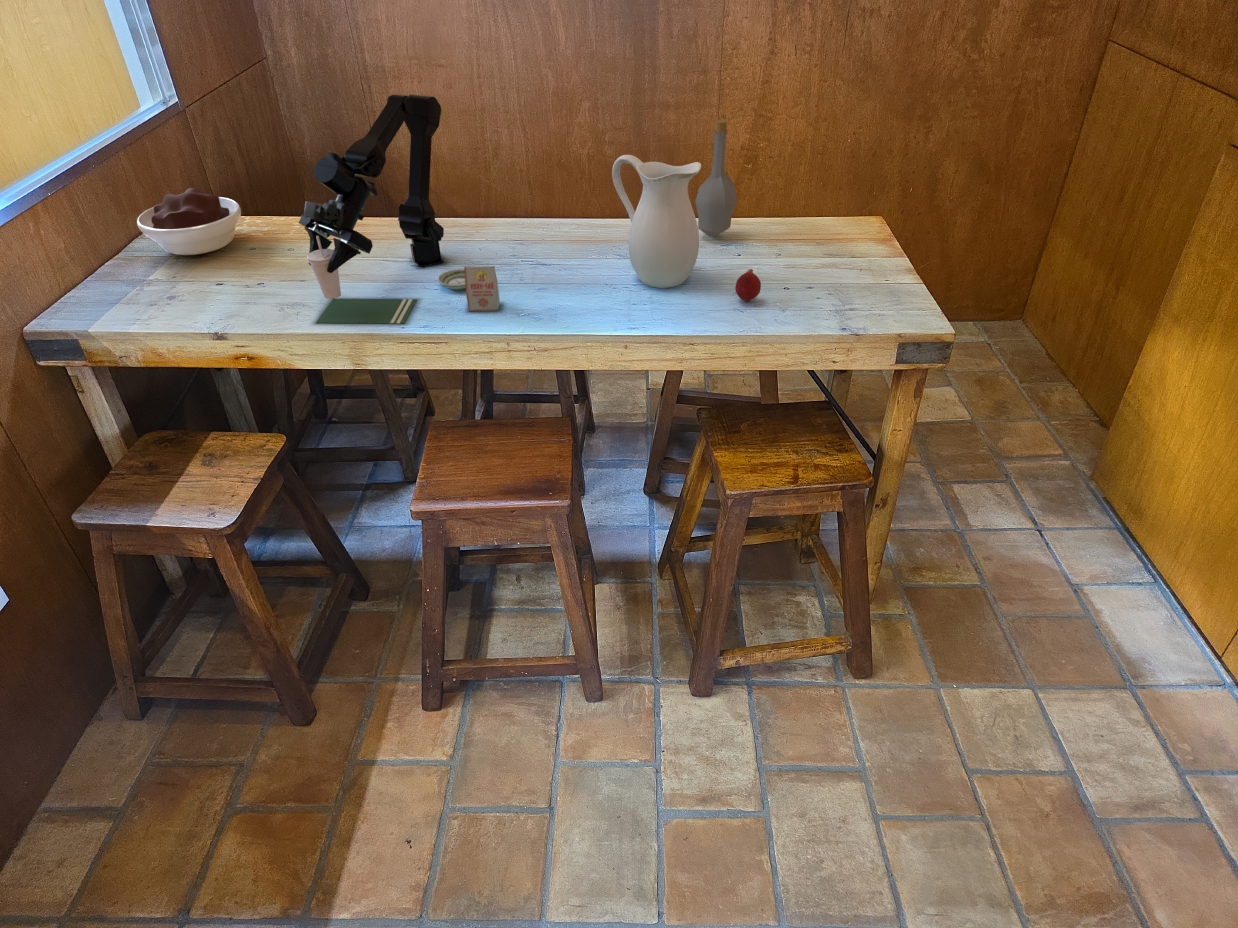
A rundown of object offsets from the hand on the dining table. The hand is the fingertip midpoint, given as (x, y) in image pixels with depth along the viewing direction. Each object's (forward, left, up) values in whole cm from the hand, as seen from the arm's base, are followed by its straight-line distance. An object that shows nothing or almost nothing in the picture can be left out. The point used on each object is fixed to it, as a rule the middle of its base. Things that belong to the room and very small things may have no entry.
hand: (319, 268), depth 172 cm
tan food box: (-33, +11, -12) cm, 36 cm away
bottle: (-102, -2, -12) cm, 102 cm away
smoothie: (-1, -1, -7) cm, 7 cm away
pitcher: (-76, +12, -12) cm, 78 cm away
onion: (-89, +35, -12) cm, 96 cm away
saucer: (-31, -3, -12) cm, 33 cm away
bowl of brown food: (+25, -57, -12) cm, 63 cm away
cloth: (-8, +1, -11) cm, 14 cm away
